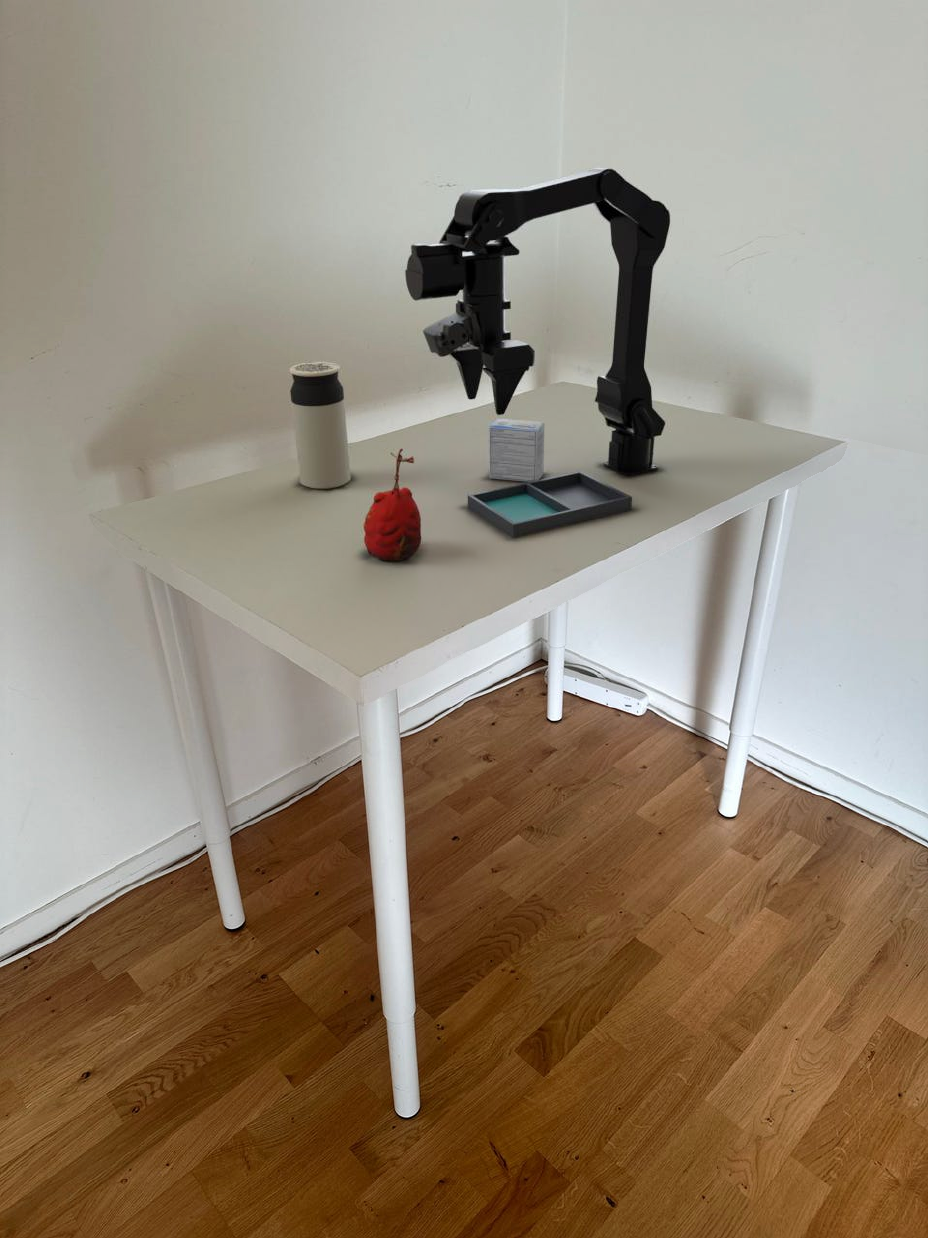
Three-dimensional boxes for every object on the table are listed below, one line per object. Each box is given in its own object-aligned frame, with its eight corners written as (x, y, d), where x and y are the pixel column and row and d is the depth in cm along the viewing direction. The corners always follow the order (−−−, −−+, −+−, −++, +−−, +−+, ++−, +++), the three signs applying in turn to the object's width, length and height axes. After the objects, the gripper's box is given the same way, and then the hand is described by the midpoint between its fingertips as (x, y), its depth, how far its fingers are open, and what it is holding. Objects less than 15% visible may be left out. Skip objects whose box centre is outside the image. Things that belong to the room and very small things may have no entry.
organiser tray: (580, 483, 142) (580, 470, 141) (631, 509, 131) (632, 496, 130) (467, 507, 133) (467, 494, 132) (513, 538, 123) (513, 524, 122)
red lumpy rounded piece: (407, 538, 124) (401, 431, 117) (433, 556, 119) (429, 445, 111) (357, 551, 120) (348, 442, 113) (382, 570, 115) (374, 457, 108)
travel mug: (329, 493, 140) (317, 375, 131) (289, 484, 143) (276, 369, 135) (360, 478, 145) (352, 364, 137) (322, 469, 149) (311, 358, 140)
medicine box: (544, 474, 145) (545, 421, 141) (536, 484, 141) (538, 429, 137) (497, 470, 148) (497, 417, 143) (488, 479, 144) (488, 425, 140)
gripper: (402, 289, 128) (409, 399, 135) (458, 309, 113) (462, 432, 120) (474, 281, 132) (476, 388, 139) (537, 300, 117) (536, 419, 124)
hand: (485, 406), depth 131 cm, fingers open, 9 cm apart
